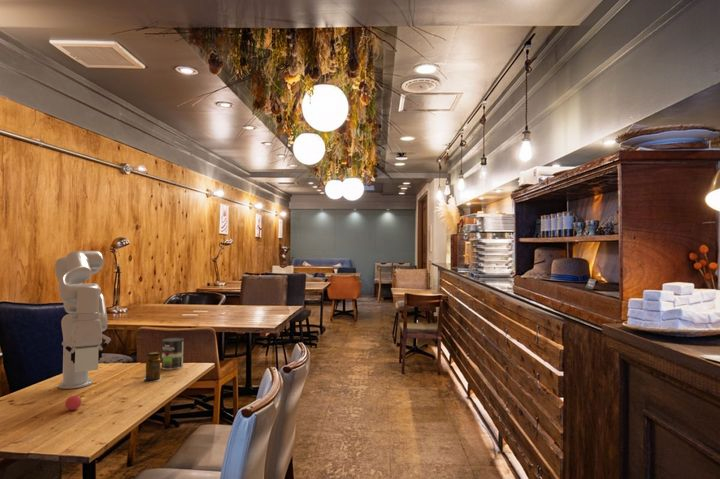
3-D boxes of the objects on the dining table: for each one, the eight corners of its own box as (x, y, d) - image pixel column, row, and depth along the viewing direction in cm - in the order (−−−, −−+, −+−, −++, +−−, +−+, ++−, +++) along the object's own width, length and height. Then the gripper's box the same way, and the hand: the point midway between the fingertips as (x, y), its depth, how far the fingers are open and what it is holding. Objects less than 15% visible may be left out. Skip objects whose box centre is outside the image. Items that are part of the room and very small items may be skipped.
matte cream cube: (74, 367, 177) (75, 345, 177) (97, 364, 181) (97, 343, 181) (74, 372, 171) (75, 349, 171) (98, 369, 175) (98, 347, 175)
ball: (65, 408, 166) (65, 395, 166) (81, 406, 168) (81, 393, 168) (64, 413, 161) (65, 399, 162) (81, 410, 164) (81, 396, 164)
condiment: (160, 376, 210) (161, 350, 210) (161, 381, 202) (162, 354, 203) (143, 378, 207) (144, 352, 207) (143, 383, 199) (144, 356, 199)
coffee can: (176, 370, 221) (176, 341, 221) (157, 369, 222) (157, 340, 223) (187, 365, 231) (187, 337, 231) (169, 364, 233) (169, 337, 233)
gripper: (60, 320, 168) (59, 366, 168) (113, 316, 178) (112, 360, 178) (61, 316, 175) (60, 361, 175) (112, 313, 184) (110, 356, 184)
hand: (86, 361), depth 176 cm, fingers closed on matte cream cube, 7 cm apart
